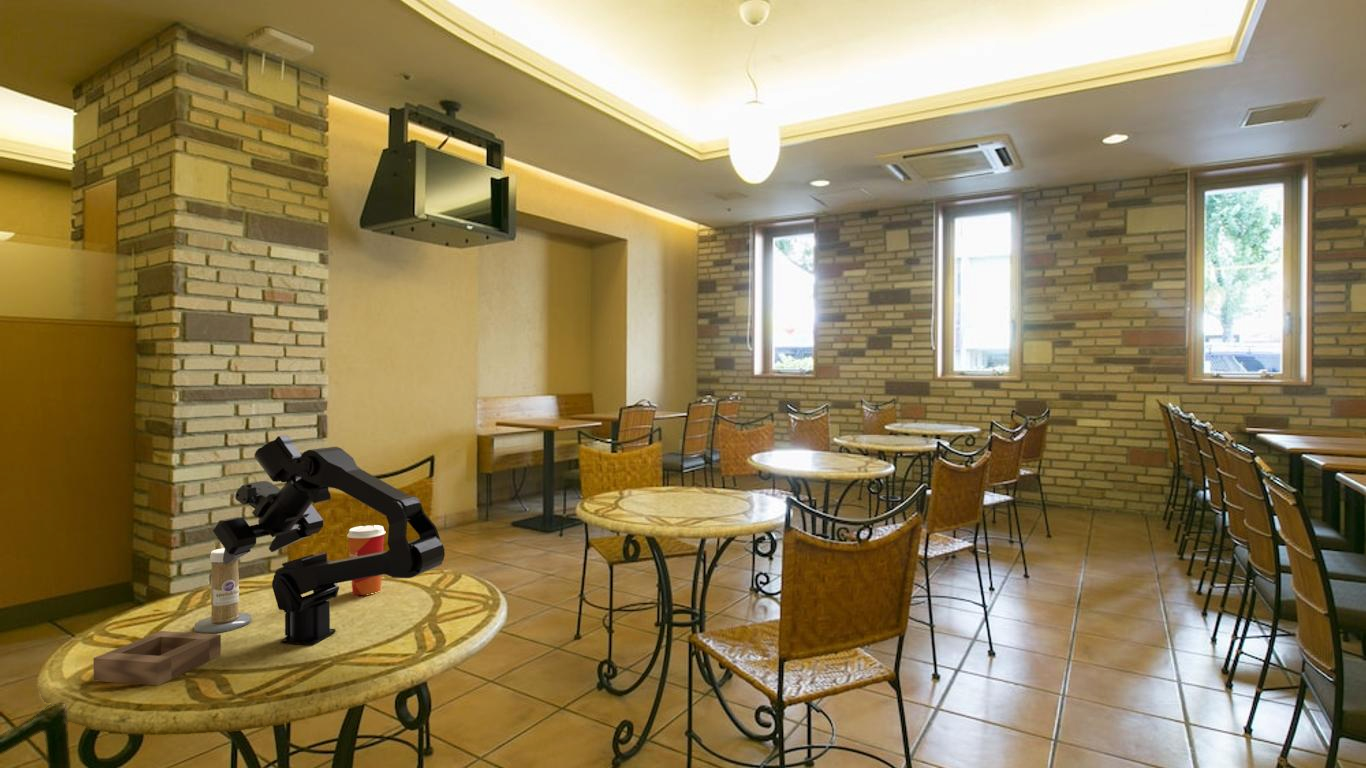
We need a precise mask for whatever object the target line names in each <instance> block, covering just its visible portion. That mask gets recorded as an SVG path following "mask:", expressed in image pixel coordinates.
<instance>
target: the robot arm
mask: <svg viewBox="0 0 1366 768" xmlns="http://www.w3.org/2000/svg"><path fill="white" fill-rule="evenodd" d="M253 455H254V459H255V460H256V461H257V463H258V464H259V465H260V466H261V468H262V469H263V470H264V472H265V473H266V474H267V476H268V478H270V480H271V481H272V482H274V483H275V482H277V483H279V482H281V483H284V484H283V485H282V487H281V488H279V487H278V486H276V485H275V484H273V483H272V482H270V481H267V480H260V481H254V482H249V483H246V484H242V485H241V486H240V487H239V488H238V489H237V491H236V493H235V496H234V498H235V500H236V501H237V502H239V503H240V504H242V505H243V506H244V505H248V506H250V508H251V507H252V508H253V509H254V510H253V511H252V512H251V513H252V514H253V516H254V518H258V523H257V524H253V525H249V524H248V522H247V521H246V519H245V518H244V517H243V516H236V517H230V518H226V519H221V520H219V521H218V522H217V523H216V524H215V525H214V528H213V530H212V531H213V533H214V534H215V536H216V537H217V538H218V540H219V542H220V543H221V545H222V547H223V548H225V550H224V556H223V562H224V563H225V564H229V563H231V562H233V561H235V560H236V559H238V560H239V558H241V557H243V556H245V555H247V554H248V553H250V552H251V549H253V548H254V547H255V545H256V544H257V539H260V538H265V537H268V536H271V538H274V539H273V540H272V541H271V543H270V545H269V547H268V550H269V551H270V553H274V552H276V551H278V550H281V549H284V548H286V547H287V546H289V545H292V544H295V543H296V542H300V541H301V540H304V539H307V538H308V537H311V536H312V535H314V534H318V533H320V531H321V530H322V528H323V527H324V519H323V518H322V516H321V515H320V514H319V512H318V511H317V510H316V508H315V507H314V506H313V504H319V503H323V502H326V501H327V502H328V501H330V500H331V499H332V497H331V492H330V491H329V489H331V488H332V489H336V490H339V491H341V492H343V493H345V494H346V495H348V496H350V497H351V498H353V499H355V500H357V501H359V502H360V503H362V504H364V505H366V506H367V507H369V508H371V509H372V510H374V511H377V513H380V514H381V515H383V516H385V517H386V519H387V520H386V521H387V522H388V531H387V547H388V549H387V550H383V552H378V553H373V554H368V555H362V556H357V557H352V558H350V557H347V558H343V559H337V560H330V559H328V556H327V554H328V553H327V552H322V553H319V554H316V555H315V554H309V555H306V556H302V557H299V558H296V559H293V560H290V561H286V562H283V563H282V564H281V565H282V567H279V568H277V569H276V570H275V572H274V575H273V579H272V581H271V586H272V591H273V594H274V598H275V601H276V604H277V608H278V610H280V611H283V612H284V633H285V635H284V636H285V637H282V638H280V641H279V642H280V643H281V644H297V645H314V644H316V643H319V642H320V641H322V640H323V639H325V638H327V637H329V636H330V635H333V634H335V633H336V628H331V625H330V624H331V622H330V621H331V620H330V619H331V617H330V616H331V613H330V612H331V607H330V606H331V605H330V604H331V602H330V600H331V599H335V598H337V597H338V593H339V589H340V586H339V585H338V584H340V583H344V582H349V581H350V582H352V580H357V579H363V578H368V577H374V576H379V575H382V576H384V575H385V576H388V577H391V578H393V579H394V578H395V579H411V578H414V577H417V576H419V575H421V574H423V573H427V572H428V571H431V570H434V569H435V568H439V567H440V566H441V565H442V564H443V563H444V562H443V561H444V560H445V555H446V554H445V553H446V552H445V546H444V544H443V543H442V540H441V537H440V535H439V531H438V529H437V526H436V525H435V524H434V523H433V521H432V520H431V519H430V517H429V516H428V515H427V514H426V513H425V510H424V508H423V506H422V503H421V501H420V499H419V498H418V497H415V496H413V495H409V494H407V493H405V492H403V491H402V490H400V489H398V488H396V487H394V486H393V485H390V484H389V483H387V482H385V481H383V480H382V479H380V478H378V477H376V476H374V475H373V474H370V473H369V472H367V471H366V470H363V469H361V468H360V467H359V466H358V465H357V464H356V461H355V459H354V457H352V456H351V455H350V454H349V453H348V452H346V451H345V450H344V449H343V448H341V447H339V446H330V447H328V446H327V447H322V448H321V447H320V448H313V449H307V450H305V451H304V452H303V453H302V454H301V452H300V451H299V450H298V448H297V447H296V445H295V444H294V443H293V441H292V439H291V437H290V436H289V435H278V436H277V437H276V438H275V439H274V440H271V441H269V442H267V443H266V444H264V445H263V446H261V447H259V448H258V449H256V451H255V452H254V454H253ZM408 524H409V525H410V526H411V527H412V528H413V530H414V531H415V533H417V534H418V537H419V538H418V539H414V540H411V541H408V538H407V532H408V530H407V529H408ZM309 592H312V593H310V594H307V593H309ZM304 594H307V595H305V596H302V595H304Z"/></svg>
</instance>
